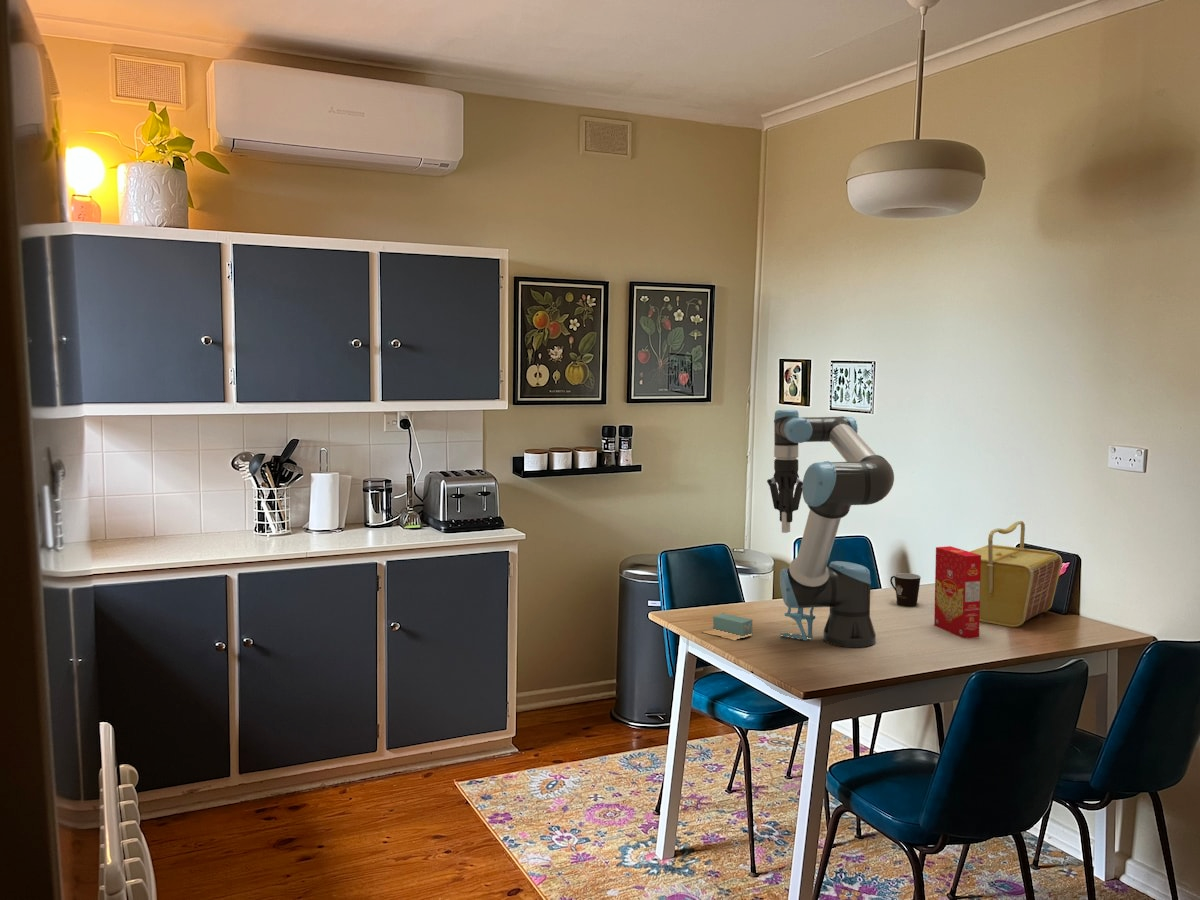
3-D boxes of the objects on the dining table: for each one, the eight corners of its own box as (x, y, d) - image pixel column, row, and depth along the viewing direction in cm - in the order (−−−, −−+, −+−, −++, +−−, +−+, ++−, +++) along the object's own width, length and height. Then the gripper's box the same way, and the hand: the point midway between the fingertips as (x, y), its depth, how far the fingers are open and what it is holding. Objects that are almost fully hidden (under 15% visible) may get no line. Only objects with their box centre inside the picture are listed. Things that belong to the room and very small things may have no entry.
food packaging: (934, 625, 289) (935, 547, 286) (948, 624, 290) (950, 546, 288) (963, 638, 274) (965, 556, 272) (979, 637, 276) (981, 555, 274)
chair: (801, 641, 271) (804, 600, 272) (779, 636, 278) (782, 596, 278) (817, 640, 276) (820, 600, 276) (795, 635, 282) (798, 596, 283)
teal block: (752, 619, 278) (723, 613, 286) (742, 623, 274) (713, 616, 282) (752, 635, 278) (723, 628, 286) (742, 639, 275) (713, 632, 283)
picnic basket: (982, 600, 318) (985, 515, 316) (1062, 613, 301) (1065, 523, 298) (947, 617, 298) (949, 526, 295) (1030, 632, 280) (1032, 535, 277)
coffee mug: (923, 607, 310) (924, 578, 309) (898, 607, 310) (898, 578, 309) (912, 599, 322) (913, 571, 321) (887, 599, 322) (888, 571, 321)
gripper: (810, 458, 288) (810, 532, 290) (774, 456, 297) (774, 528, 299) (798, 460, 283) (797, 536, 285) (762, 458, 292) (762, 531, 293)
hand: (785, 532), depth 292 cm, fingers closed
